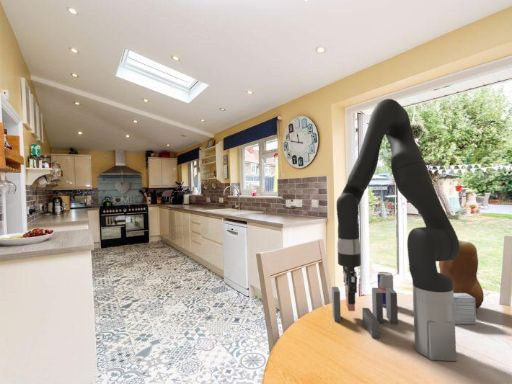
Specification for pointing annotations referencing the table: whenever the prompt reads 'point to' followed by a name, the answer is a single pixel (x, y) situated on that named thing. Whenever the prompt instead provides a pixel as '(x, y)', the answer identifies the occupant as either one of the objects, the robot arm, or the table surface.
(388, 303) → the domino
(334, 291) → the domino
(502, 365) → the table surface
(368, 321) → the domino
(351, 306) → the domino
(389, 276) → the energy drink
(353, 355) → the table surface
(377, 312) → the domino
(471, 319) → the medicine box
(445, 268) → the butternut squash
